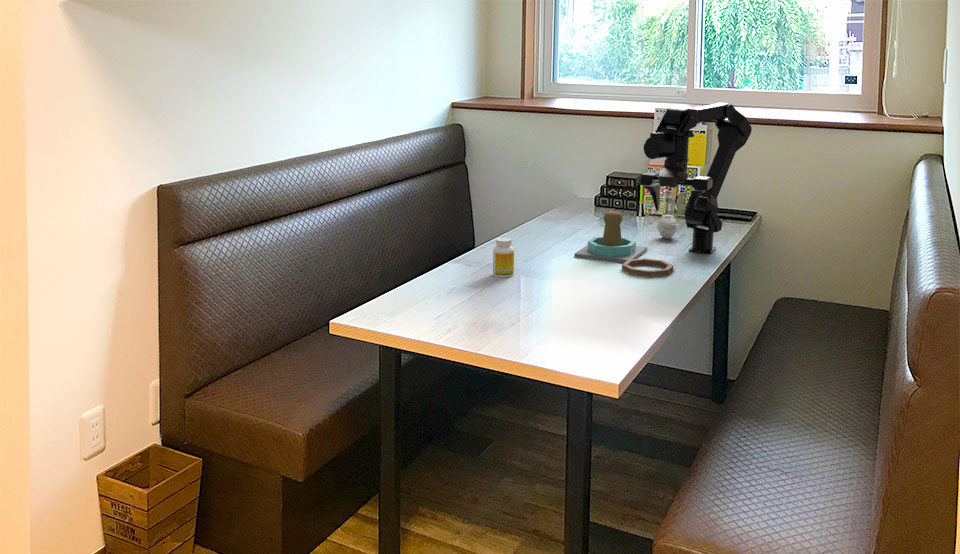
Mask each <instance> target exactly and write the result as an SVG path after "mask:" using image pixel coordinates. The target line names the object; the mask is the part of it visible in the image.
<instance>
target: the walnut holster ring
mask: <svg viewBox="0 0 960 554" xmlns="http://www.w3.org/2000/svg"><path fill="white" fill-rule="evenodd" d="M637 266H653V267H661V269H660V268H659V269H651V270H649V269H641V268H635V267H637ZM674 267H675V266H674V264H673V263H670V262H668V261H666V260H663V259H658V258H657V259H656V258H649V257H648V258H646V257H643V258H641V257H640V258H637V259H630V260H627V261H626V262H624V263H621V270H622V271H623V272H625V273H626V274H628V275H630V276H636V277H645V278H658V277H660V278H661V277H668V276H669V275H670V274H671V273H673V272H674Z"/></svg>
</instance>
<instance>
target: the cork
mask: <svg viewBox="0 0 960 554" xmlns="http://www.w3.org/2000/svg"><path fill="white" fill-rule="evenodd" d="M603 222H604V224H605V225H604V230H603V235H602V237H603V240H602V245H605V246H622V239H621V237H622V229H621V228H622V227H621V224H622V222H623V214H622V213H621V212H620V211H615V210H610V211H606V212H605V213H604V214H603Z"/></svg>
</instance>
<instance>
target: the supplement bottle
mask: <svg viewBox="0 0 960 554" xmlns="http://www.w3.org/2000/svg"><path fill="white" fill-rule="evenodd" d="M512 241H513V240H512V238H510V237H498V238H495V246H494V247H493V250H492V251H493V252H492V275H493V276H494V277H496V278H500V277H502V279H507V278H506V277H508V278H511V277H513V276H514V272H515V271H514V270H515V267H514V266H515V265H514V264H515V248H514V247H513V246H511V245H512V244H513V242H512Z"/></svg>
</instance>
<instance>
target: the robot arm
mask: <svg viewBox="0 0 960 554" xmlns="http://www.w3.org/2000/svg"><path fill="white" fill-rule="evenodd" d="M710 121H714V125H715V127H716V128H717V129H718V132H717V141H718V147H717V149H716V152H715V154H714V157H713V159H712V162H711V164H710V166H709V169H708V171H707V174H706V176H702V175H697V176H696V177H693V178H688V163H689V145H690V138H693V137H695V134H694V133H693V132H692V131H691V130H692V129H694V128H696V127H697V126H698V124H701V123H706V122H710ZM752 129H753V128H752V125H751V124H750V121H749V120H748V119H747V117H746V116H744V114H742V113H740V112H739V111H738V110H737V109H736V108H735V107H734V105H733V104H731V103H728V102H716V103H713V104H707V105H702V106H696V107H691V108H688V107H676V106H670V107H668V108H666V112H665V113H664V115H663V116H662V118H661V120H660V122H659V124H658V126H657V128H656V130H655V132H650V135H649V137H648V138H647V139H646V140H645V142H644V144H643V153H644V155H645V156H646V157H647V158H648V159H649V160H657V159H662V158H665V159H664V163H663V164H664V165H663V167H662V169H661V170H660V171H659V172H652V171H651V172H650V171H645V172H643V173H642V174H641V175H639V178H638V179H639V181H638V184H639V186H643V188H644V189H646V190H648V192H649V193H650V196H651V198H652V202H653V205H654V207H655V211H656V212H659V211H660V210H659V209H660V204H661V202H660V201H661V200H660V199H661V187H663V188H664V187H668V188H673V189H674V188H677V187H678V186H691V187H692V188H693V189H691V190H690V194H691V195H690V196H689V197H688V201H687V202H686V203H687V204H686V205H685V207H684V208H685V210H684V214H683V215H684V219H685V224H686V228H687V229H688V228H689V229H692V230H693V231H692V243H691V244H692V246H690V247H689V248H688V252H693V253H694V252H696V253H703V254H712V253H714V251H715V250H717V247H715V246H714V237H715V236H714V234H715V233H719V232H721V231H722V228H723V221H722V220H721V219H720V217H719V216H718V213H719V204H718V198H719V193H720V192H721V189H722V186H723V184H724V182H725V179H726V176H727V175H728V173H729V170H730V167H731V166H732V162H733V160H734V158H735V155H736V153H737V152H738V151H739V150H740V149H741V148H743V147H744V146H745V145H746V143H747V142H748V139H749V137H750V136H751V135H752Z"/></svg>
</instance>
